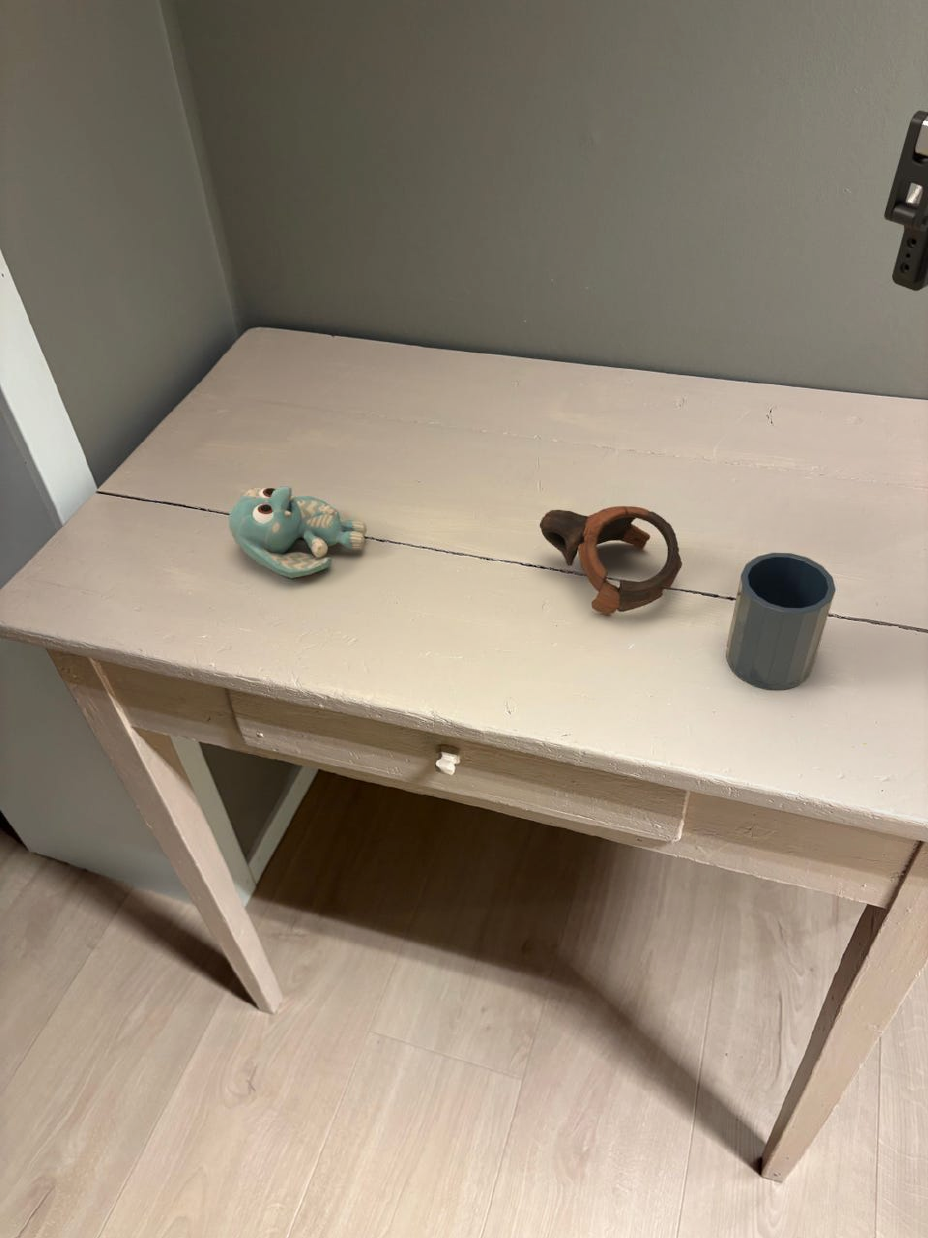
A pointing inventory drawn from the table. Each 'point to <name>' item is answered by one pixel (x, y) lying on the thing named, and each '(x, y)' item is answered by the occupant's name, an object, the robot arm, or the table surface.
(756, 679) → the cup
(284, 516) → the stuffed animal
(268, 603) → the table surface
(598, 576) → the brown broken clay pot
